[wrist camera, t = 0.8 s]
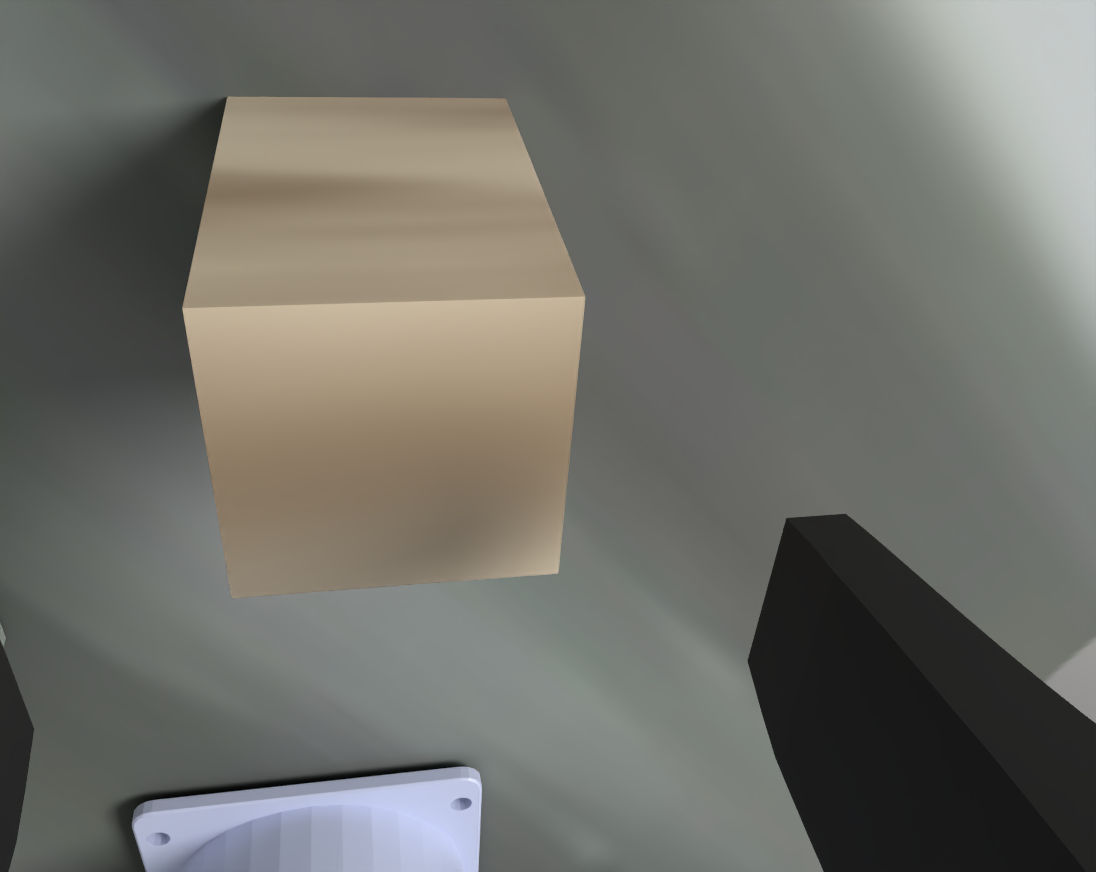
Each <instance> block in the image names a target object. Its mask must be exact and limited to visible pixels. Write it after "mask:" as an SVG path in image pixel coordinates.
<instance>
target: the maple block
mask: <svg viewBox="0 0 1096 872" xmlns="http://www.w3.org/2000/svg"><path fill="white" fill-rule="evenodd" d="M584 305H585V295H584V292H583V290H582V287H581V285H580V282H579V280H578V277H577V275H576V272H575V270H574V267H573V265H572V262H571V260H570V257H569V255H568V252H567V250H566V247H565V245H564V242H563V240H562V237H561V235H560V232H559V230H558V227H557V225H556V222H555V220H554V217H553V215H552V212H551V210H550V207H549V205H548V202H547V200H546V197H545V195H544V192H543V190H542V187H541V185H540V182H539V180H538V177H537V175H536V173H535V170H534V168H533V165H532V163H531V160H530V158H529V155H528V153H527V150H526V148H525V145H524V143H523V140H522V138H521V135H520V133H519V130H518V128H517V125H516V123H515V120H514V118H513V115H512V113H511V110H510V108H509V105H508V103H507V100H506V98H359V97H227V101H226V106H225V111H224V115H223V120H222V125H221V129H220V134H219V139H218V143H217V148H216V153H215V157H214V162H213V167H212V171H211V176H210V181H209V186H208V190H207V195H206V200H205V204H204V209H203V214H202V218H201V223H200V228H199V232H198V237H197V242H196V246H195V251H194V256H193V260H192V265H191V270H190V274H189V279H188V284H187V288H186V293H185V298H184V302H183V307H182V310H183V315H184V321H185V327H186V333H187V339H188V345H189V351H190V356H191V362H192V368H193V374H194V380H195V386H196V392H197V398H198V403H199V409H200V415H201V421H202V427H203V433H204V439H205V444H206V450H207V456H208V462H209V468H210V474H211V480H212V485H213V491H214V497H215V503H216V509H217V515H218V521H219V527H220V532H221V538H222V544H223V550H224V556H225V562H226V568H227V573H228V579H229V585H230V591H231V597H232V598H243V597H256V596H269V595H282V594H295V593H308V592H321V591H334V590H347V589H360V588H374V587H387V586H400V585H413V584H426V583H439V582H452V581H465V580H478V579H491V578H504V577H517V576H531V575H544V574H557V573H558V570H559V560H560V550H561V540H562V529H563V519H564V509H565V499H566V489H567V478H568V468H569V458H570V448H571V438H572V427H573V417H574V407H575V397H576V386H577V376H578V366H579V356H580V346H581V335H582V325H583V315H584Z"/></svg>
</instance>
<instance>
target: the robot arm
mask: <svg viewBox="0 0 1096 872" xmlns="http://www.w3.org/2000/svg"><path fill="white" fill-rule="evenodd" d="M748 664H749V668H750V671H751V675H752V679H753V682H754V686H755V690H756V693H757V697H758V700H759V704H760V708H761V711H762V715H763V718H764V722H765V725H766V728H767V731H768V735H769V738H770V741H771V745H772V748H773V751H774V754H775V758H776V760H777V763H778V765H779V767H780V770H781V772H782V775H783V777H784V780H785V782H786V784H787V787H788V789H789V791H790V794H791V796H792V799H793V801H794V803H795V806H796V808H797V810H798V813H799V815H800V817H801V820H802V822H803V825H804V827H805V829H806V832H807V834H808V836H809V839H810V841H811V843H812V846H813V848H814V850H815V853H816V855H817V857H818V859H819V862H820V864H821V866H822V869H823V871H824V872H1096V723H1094V722H1093V721H1092V720H1090V719H1089V718H1088V717H1086V716H1085V715H1084V714H1083V713H1081V712H1080V711H1079V710H1077V709H1076V708H1075V707H1074V706H1073V705H1071V704H1070V703H1069V702H1068V701H1066V700H1065V699H1064V698H1062V697H1061V696H1060V695H1059V694H1058V693H1056V692H1055V691H1054V690H1052V689H1051V688H1050V687H1049V686H1047V685H1046V684H1045V683H1044V682H1043V681H1041V680H1040V679H1039V678H1038V677H1036V676H1035V675H1034V674H1033V673H1032V672H1030V671H1029V670H1028V669H1027V668H1026V667H1024V666H1023V665H1022V664H1021V663H1019V662H1018V661H1017V660H1016V659H1015V658H1014V657H1012V656H1011V655H1010V654H1009V653H1008V652H1006V651H1005V650H1004V649H1003V648H1002V647H1000V646H999V645H998V644H997V643H996V642H994V641H993V640H992V639H991V638H990V637H989V636H987V635H986V634H985V633H984V632H983V631H981V630H980V629H979V628H978V627H977V626H976V625H974V624H973V623H972V622H971V621H970V620H969V619H967V618H966V617H965V616H964V615H963V614H962V613H960V612H959V611H958V610H957V609H956V608H955V607H954V606H952V605H951V604H950V603H949V602H948V601H947V600H946V599H944V598H943V597H942V596H941V595H940V594H939V593H937V592H936V591H935V590H934V589H933V588H932V587H931V586H929V585H928V584H927V583H926V582H925V581H924V580H923V579H921V578H920V577H919V576H918V575H917V574H916V573H915V572H913V571H912V570H911V569H910V568H909V567H908V566H906V565H905V564H904V563H903V562H902V561H901V560H900V559H898V558H897V557H896V556H895V555H894V554H893V553H892V552H890V551H889V550H888V549H887V548H886V547H885V546H883V545H882V544H881V543H880V542H879V541H878V540H877V539H875V538H874V537H873V536H872V535H871V534H869V533H868V532H867V531H866V530H865V529H864V528H862V527H861V526H860V525H859V524H857V523H856V522H855V521H854V520H853V519H851V518H850V517H849V516H848V515H846V514H838V515H824V516H810V517H796V518H786V522H785V525H784V529H783V533H782V536H781V540H780V544H779V547H778V551H777V555H776V558H775V562H774V566H773V570H772V573H771V577H770V581H769V584H768V588H767V592H766V595H765V599H764V603H763V606H762V610H761V614H760V617H759V621H758V625H757V628H756V632H755V636H754V639H753V643H752V647H751V650H750V654H749V658H748ZM33 732H34V728H33V725H32V722H31V720H30V717H29V714H28V712H27V709H26V706H25V704H24V701H23V698H22V696H21V693H20V690H19V688H18V685H17V682H16V680H15V677H14V675H13V672H12V669H11V667H10V664H9V661H8V659H7V656H6V653H5V651H4V648H3V645H2V643H1V640H0V872H8V871H9V867H10V864H11V860H12V856H13V853H14V849H15V845H16V841H17V835H18V829H19V823H20V817H21V812H22V806H23V800H24V794H25V788H26V781H27V774H28V767H29V760H30V753H31V746H32V739H33ZM481 796H482V785H481V778H480V774H479V772H478V771H476V770H475V769H473V768H470V767H461V766H460V767H451V768H441V769H432V770H423V771H414V772H405V773H395V774H386V775H377V776H368V777H359V778H349V779H340V780H331V781H322V782H313V783H303V784H294V785H285V786H276V787H267V788H257V789H248V790H239V791H230V792H221V793H211V794H202V795H193V796H184V797H175V798H166V799H156V800H151V801H146V802H144V803H142V804H140V805H139V806H137V808H136V809H135V810H134V814H133V820H132V830H133V833H134V836H135V839H136V842H137V845H138V849H139V852H140V855H141V858H142V861H143V865H144V868H145V871H146V872H478V864H479V842H480V819H481Z"/></svg>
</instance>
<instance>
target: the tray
mask: <svg viewBox="0 0 1096 872" xmlns="http://www.w3.org/2000/svg"><path fill="white" fill-rule="evenodd" d="M0 640H1V643H2V645H3V646H4V643H5V640H6V637H5V634H4V631H3V628H2V626H1V623H0Z"/></svg>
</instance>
